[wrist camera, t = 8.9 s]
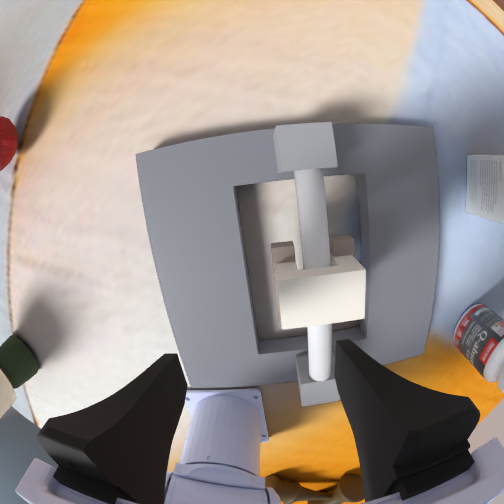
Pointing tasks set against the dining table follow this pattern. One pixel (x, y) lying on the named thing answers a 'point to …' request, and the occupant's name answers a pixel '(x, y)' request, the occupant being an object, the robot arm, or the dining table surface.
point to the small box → (485, 186)
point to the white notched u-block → (319, 286)
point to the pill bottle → (482, 342)
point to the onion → (7, 141)
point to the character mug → (14, 370)
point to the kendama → (292, 491)
